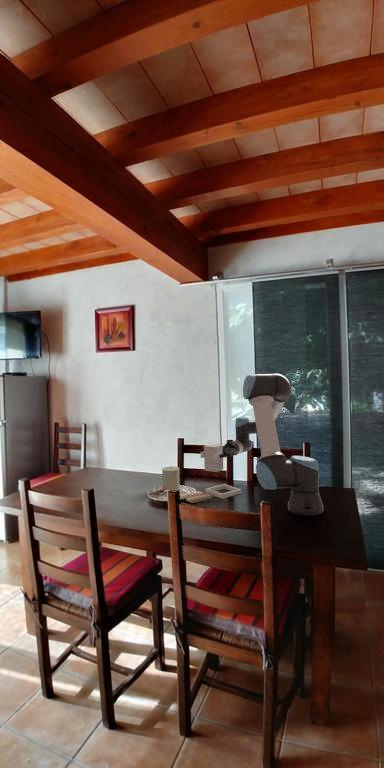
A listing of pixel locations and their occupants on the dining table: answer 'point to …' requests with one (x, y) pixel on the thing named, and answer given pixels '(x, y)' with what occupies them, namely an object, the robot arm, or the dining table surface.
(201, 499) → the pad
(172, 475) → the can
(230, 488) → the white flat square frame
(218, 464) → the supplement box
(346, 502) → the dining table surface
